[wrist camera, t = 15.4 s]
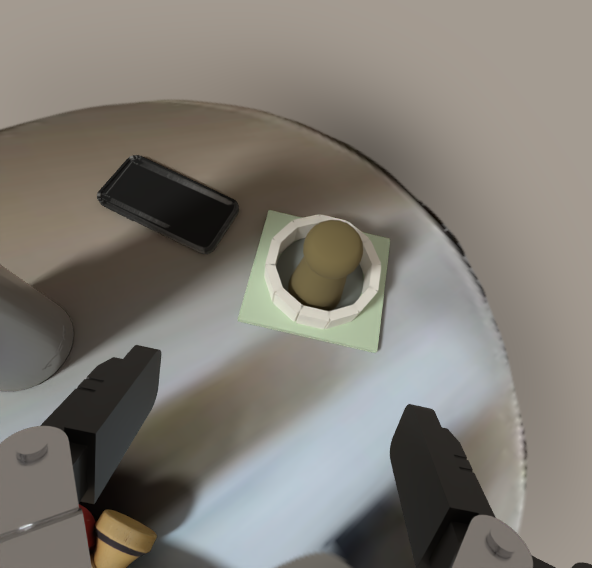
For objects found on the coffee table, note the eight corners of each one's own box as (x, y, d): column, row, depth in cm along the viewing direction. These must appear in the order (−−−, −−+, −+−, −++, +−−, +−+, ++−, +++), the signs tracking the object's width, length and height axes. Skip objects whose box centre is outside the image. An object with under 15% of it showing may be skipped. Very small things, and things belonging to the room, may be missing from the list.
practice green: (238, 321, 39) (236, 309, 36) (268, 213, 45) (269, 194, 41) (374, 353, 39) (386, 344, 36) (388, 242, 45) (399, 225, 42)
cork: (315, 254, 42) (336, 196, 32) (353, 291, 41) (387, 243, 31) (276, 286, 40) (285, 235, 30) (315, 326, 39) (338, 287, 29)
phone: (133, 152, 45) (242, 203, 44) (135, 158, 46) (242, 208, 45) (91, 199, 42) (207, 254, 41) (95, 204, 43) (209, 259, 42)
